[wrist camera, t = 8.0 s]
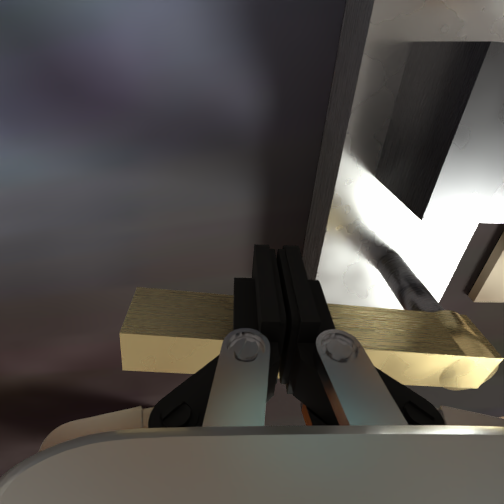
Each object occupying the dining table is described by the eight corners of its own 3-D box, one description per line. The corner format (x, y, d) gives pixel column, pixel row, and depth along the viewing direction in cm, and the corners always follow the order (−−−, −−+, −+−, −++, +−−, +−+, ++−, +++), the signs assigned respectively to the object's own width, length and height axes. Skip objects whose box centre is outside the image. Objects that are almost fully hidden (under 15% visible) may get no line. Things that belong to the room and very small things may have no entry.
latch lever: (138, 325, 14) (123, 373, 12) (137, 283, 13) (119, 329, 11) (447, 346, 16) (478, 391, 14) (471, 312, 15) (510, 355, 13)
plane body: (369, -131, 14) (546, -353, 6) (564, -108, 14) (948, -280, 7) (294, 298, 27) (320, 402, 19) (398, 299, 27) (464, 400, 20)
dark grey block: (412, 41, 14) (491, 41, 10) (521, 49, 14) (642, 52, 10) (374, 177, 17) (421, 221, 13) (464, 180, 17) (537, 224, 13)
